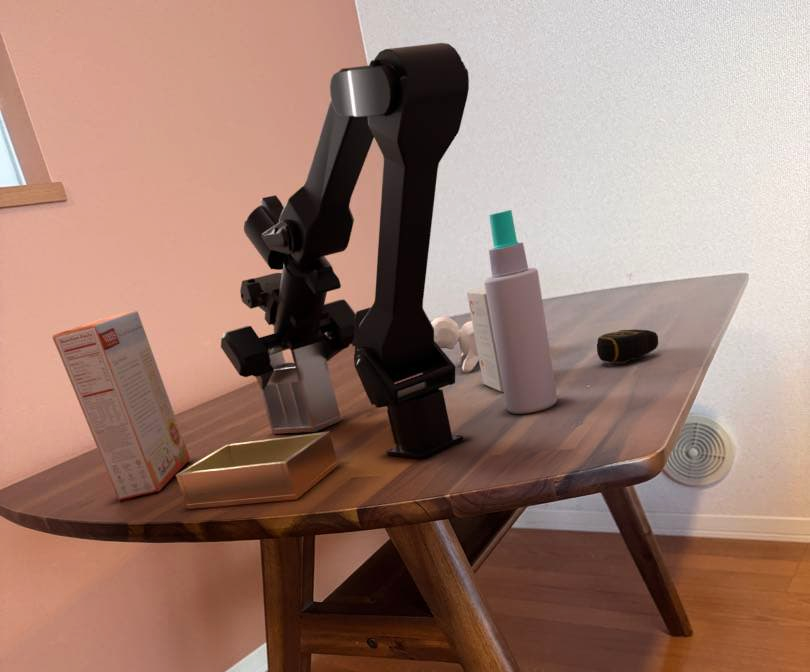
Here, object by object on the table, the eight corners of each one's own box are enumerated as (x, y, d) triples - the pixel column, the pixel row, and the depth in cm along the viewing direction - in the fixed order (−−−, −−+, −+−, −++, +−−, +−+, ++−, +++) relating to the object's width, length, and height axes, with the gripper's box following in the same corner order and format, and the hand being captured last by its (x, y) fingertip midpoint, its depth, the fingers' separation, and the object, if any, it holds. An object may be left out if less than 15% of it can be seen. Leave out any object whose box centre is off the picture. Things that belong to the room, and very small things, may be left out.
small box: (545, 381, 104) (529, 281, 99) (501, 393, 103) (483, 293, 98) (524, 373, 111) (508, 280, 106) (482, 384, 110) (465, 291, 105)
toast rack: (341, 420, 109) (320, 335, 105) (315, 432, 105) (292, 344, 101) (299, 423, 115) (277, 342, 111) (272, 434, 111) (248, 350, 107)
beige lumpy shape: (511, 371, 129) (422, 357, 128) (522, 319, 126) (431, 304, 125) (518, 381, 121) (423, 365, 120) (529, 326, 118) (433, 310, 117)
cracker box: (152, 468, 108) (97, 318, 101) (192, 460, 108) (140, 308, 100) (114, 502, 96) (48, 333, 88) (160, 493, 95) (97, 321, 87)
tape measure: (662, 354, 102) (660, 326, 101) (623, 368, 100) (620, 339, 98) (625, 353, 108) (622, 326, 107) (588, 366, 106) (584, 339, 104)
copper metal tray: (338, 465, 88) (329, 431, 87) (296, 499, 80) (286, 462, 78) (236, 476, 94) (226, 444, 92) (187, 509, 85) (175, 474, 84)
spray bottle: (552, 411, 89) (520, 208, 81) (501, 417, 91) (466, 221, 83) (562, 397, 94) (533, 204, 86) (514, 403, 96) (481, 216, 88)
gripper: (332, 236, 102) (314, 321, 115) (202, 267, 94) (198, 355, 107) (377, 294, 99) (353, 375, 112) (247, 332, 90) (237, 415, 103)
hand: (286, 378), depth 109 cm, fingers closed on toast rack, 8 cm apart
